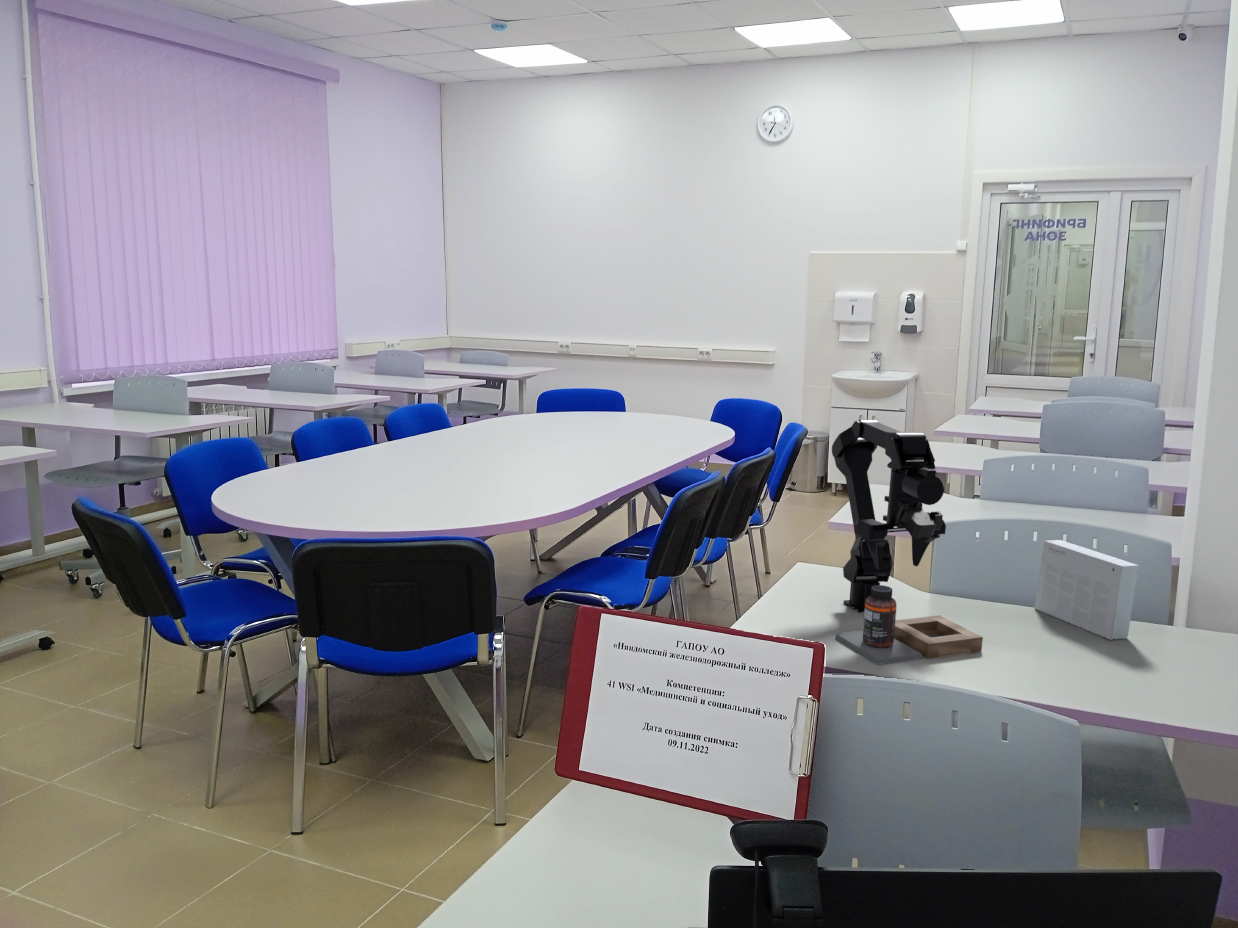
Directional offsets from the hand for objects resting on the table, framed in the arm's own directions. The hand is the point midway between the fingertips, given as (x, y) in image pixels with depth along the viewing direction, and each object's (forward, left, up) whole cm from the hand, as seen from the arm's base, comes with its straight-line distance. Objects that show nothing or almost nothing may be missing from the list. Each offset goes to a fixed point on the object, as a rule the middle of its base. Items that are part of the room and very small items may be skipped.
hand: (897, 567), depth 202 cm
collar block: (+10, +3, -13) cm, 17 cm away
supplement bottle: (+9, -10, -12) cm, 18 cm away
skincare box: (+9, +42, -13) cm, 45 cm away
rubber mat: (+9, -10, -13) cm, 19 cm away
